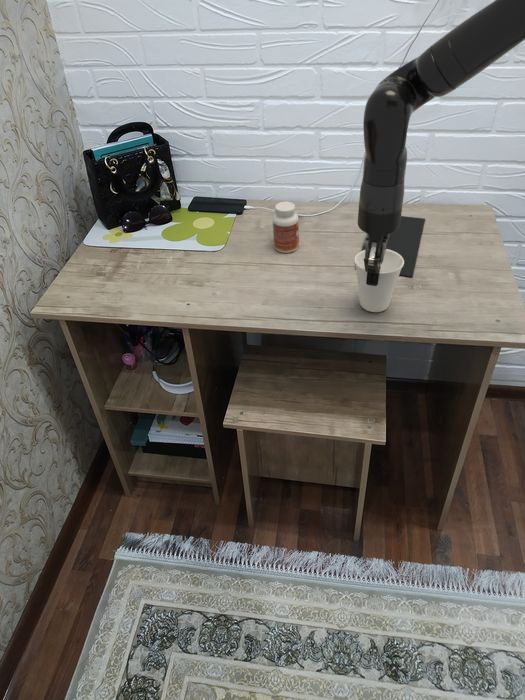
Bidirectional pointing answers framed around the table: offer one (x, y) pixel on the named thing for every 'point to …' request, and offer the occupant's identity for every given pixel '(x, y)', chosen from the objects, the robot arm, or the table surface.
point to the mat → (406, 242)
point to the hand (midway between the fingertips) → (372, 283)
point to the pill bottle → (285, 227)
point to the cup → (388, 276)
